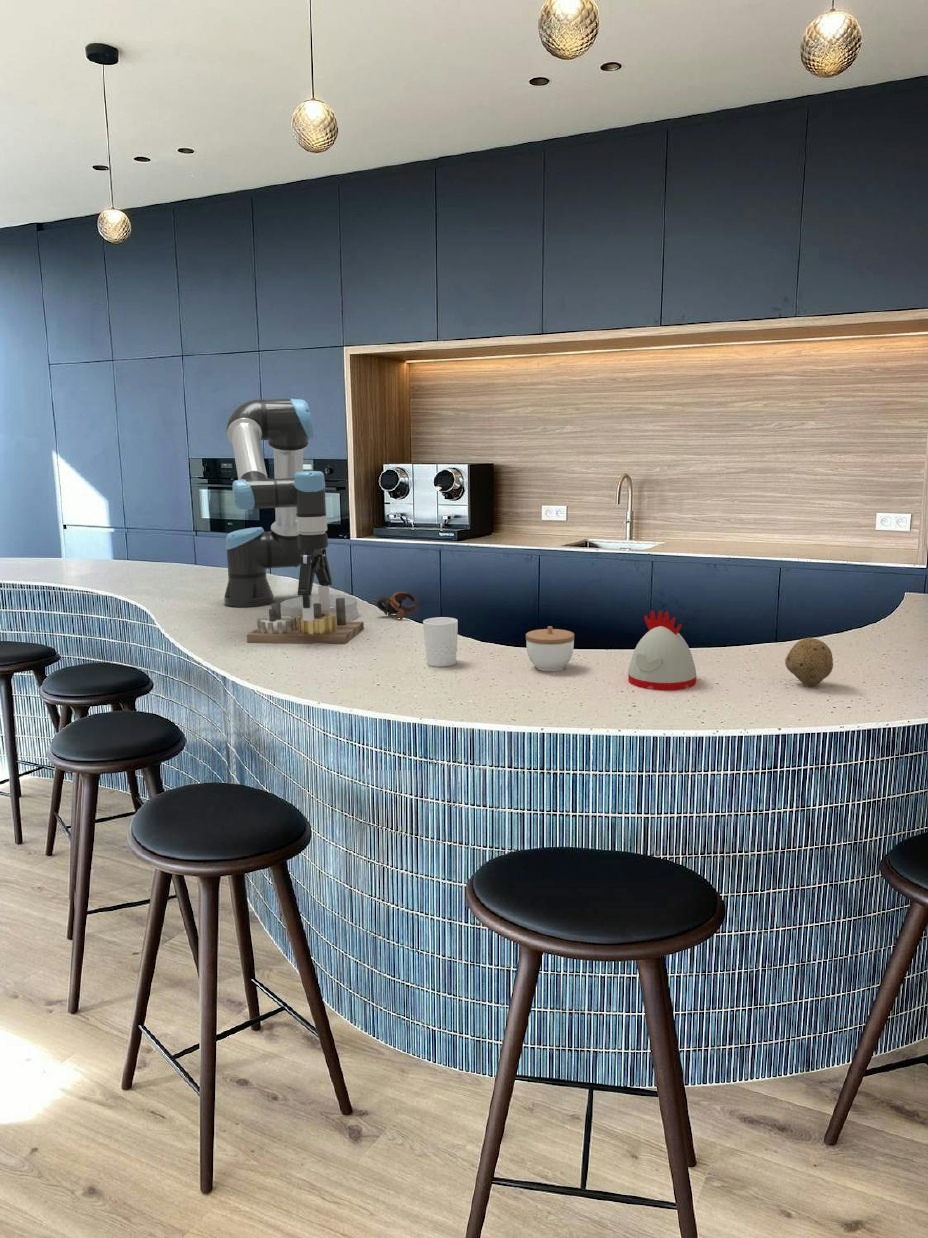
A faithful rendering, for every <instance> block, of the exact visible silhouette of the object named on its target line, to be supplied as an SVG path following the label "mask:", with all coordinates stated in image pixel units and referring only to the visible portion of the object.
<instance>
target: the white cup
mask: <svg viewBox="0 0 928 1238" xmlns="http://www.w3.org/2000/svg"><path fill="white" fill-rule="evenodd" d="M422 623H423V627H422V628H423V635H424V636H423V638H424V639H423V640H424V647H425V653H426V654H425V655H426V656H425V657H426V664H427V666H431V667H436V668H437V667H439V668H440V667H443V668H444V667H450V666H454V665H455V664H456V663H457V652H458V633H459V631H458V625H459V624H458V619H457V618H454V617H448V616H447V617H444V616H443V617H442V616H441V617H431V618H430V617H429V618H426V619H424V620H422Z"/></svg>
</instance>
